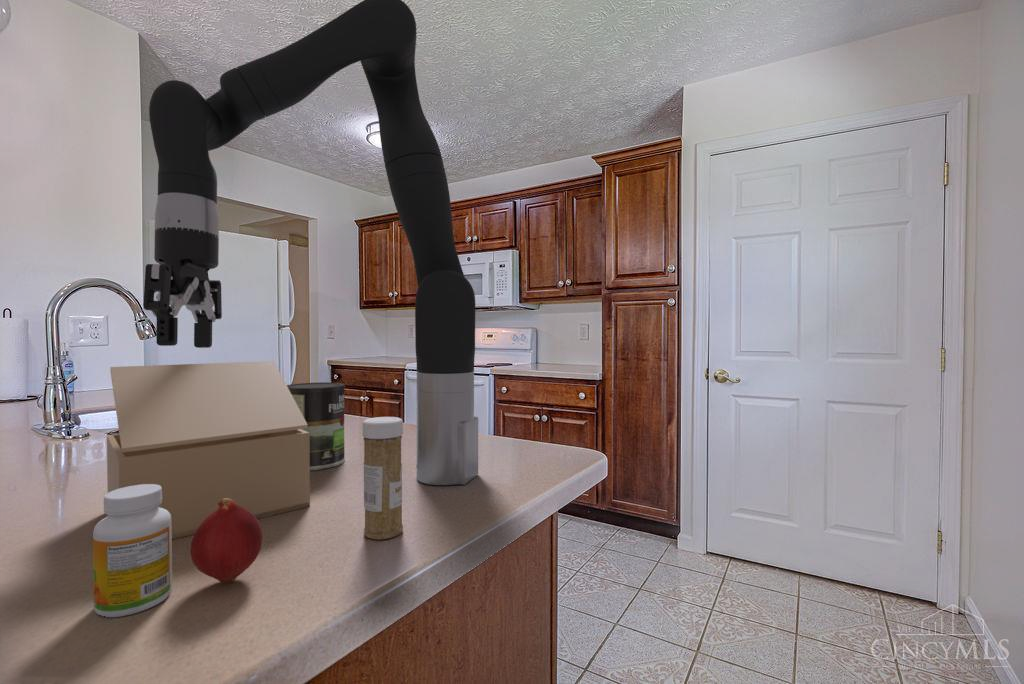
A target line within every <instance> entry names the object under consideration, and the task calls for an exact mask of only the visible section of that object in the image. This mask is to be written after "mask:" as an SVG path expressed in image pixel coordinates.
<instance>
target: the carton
mask: <svg viewBox="0 0 1024 684" xmlns="http://www.w3.org/2000/svg"><path fill="white" fill-rule="evenodd" d="M106 465H107V467H106V469H107V472H106V476H107V485H106V486H107V493H109V492H111V491H113V490H116V489H120V488H124V487H128V486H134V485H142V484H156V485H160V486H161V487H162V502H161V504H160V505H159V507H160V508H164V509H166V510H167V511H168V512H169V513H170V515H171V524H172V541H173V540H177V539H181V538H184V537H188V536H194V535H195V532H196V530H197V529H198V527H199V525H200V524H201V523H202V522H203V520H204V519H205V518H206V517H208V516H209V515H210V514H211V513H212V512H214V511H215V510H217V509H218V507H219V505H218V503H219V502H220V501H221V500H223V499H224V498H229V499H231V500H233V501H234V502H235V503H236V504H237V505H239V506H242V507H244V508H246V509H247V510H248V511H249V512H250V513H252V514H253V515H254V516H255V517H256V518H257V520H259V519H263V518H267V517H271V516H275V515H276V516H277V515H279V514H280V515H281V514H284V513H289V512H291V511H297V510H300V509H304V508H309V507H310V506H311V477H310V476H311V475H310V474H311V470H310V433H309V432H307V431H304V430H302V429H298V430H290V431H282V432H275V433H267V434H260V435H252V436H244V437H237V438H229V439H222V440H214V441H206V442H199V443H191V444H184V445H176V446H168V447H161V448H153V449H146V450H138V451H130V452H123V453H122V449H121V442H120V435H119V433H115V434H106Z"/></svg>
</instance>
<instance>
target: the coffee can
mask: <svg viewBox="0 0 1024 684" xmlns="http://www.w3.org/2000/svg"><path fill="white" fill-rule="evenodd" d="M286 385H287V387H288V389H289V391H290V393H291V394H292V396H293V398H294V400H295V402H296V404H297V406H298V408H299V409H300V411H301V413H302V415H303V417H304V419H305V421H306V423H307V424H308V425H307V428H305V429H302V430H304V431H307V432H309V433H310V471H318V470H320V471H321V470H326V469H327V470H328V469H330V468H334V467H337V466H340V465H342V464H344V462H345V461H346V459H345V388H346V384H345V383H342V382H341V383H340V382H327V381H326V382H322V381H321V382H300V383H291V384H286Z"/></svg>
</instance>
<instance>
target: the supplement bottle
mask: <svg viewBox="0 0 1024 684" xmlns="http://www.w3.org/2000/svg"><path fill="white" fill-rule="evenodd" d="M161 502H162V487H161V486H160V485H156V484H142V485H134V486H128V487H124V488H120V489H116V490H113V491H111V492H109V493H108V492H107V493H105V495H104V496H103V513H104V514H105V515H107V516H106V517H104V518H103V519H101V520H99V522H97V523H96V524H95V526H94V528H93V532H92V555H93V556H92V559H93V560H92V561H93V563H92V564H93V565H92V566H93V567H92V568H93V570H92V571H93V574H92V576H93V605H94V606H93V608H94V609H93V610H94V611H95V613H96V614H97V615H99V616H100V615H101V617H104V616H105V618H119V617H120V618H121V617H126V615H127V616H130V615H134V614H137V613H140V612H143V611H146V610H148V609H151V608H153V607H155V606H156V605H159V604H160V603H162V602H163V601H164V600H166V599H168V597H169V596H170V595H171V592H172V590H173V551H172V550H173V547H172V545H173V543H172V541H173V540H172V524H171V515H170V513H169V512H168V511H167V510H166V509H164V508H160V507H159V505H160V504H161Z"/></svg>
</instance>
